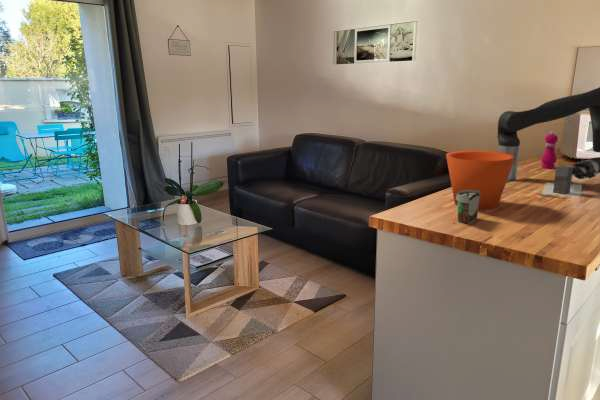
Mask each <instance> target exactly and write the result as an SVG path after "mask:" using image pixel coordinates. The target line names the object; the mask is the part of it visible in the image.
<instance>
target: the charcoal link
mask: <svg viewBox="0 0 600 400" xmlns="http://www.w3.org/2000/svg"><path fill="white" fill-rule="evenodd" d="M572 172H573V167H572V166H568V165H559V166H556V167H555V174H554V180H553V181H554V182H553V183H554V189H553V193H558V194H564V195H565V194H568V193H570V187H571V184H572V179H573V176H572Z"/></svg>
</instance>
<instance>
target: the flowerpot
mask: <svg viewBox="0 0 600 400" xmlns="http://www.w3.org/2000/svg"><path fill="white" fill-rule="evenodd" d="M445 156H446V157H445V158H446V161H447V168H448V173H449V178H450V183H451V184H450V185H451V190H452V195H453V201H454V204H455V205H456V206H457V205H458V201H457V200H456V196H457V194H458V192H460V191H465V190H477V191H480V197H479V206H478V209H488V210H494V209H496V208H497V207H499V204H500V200H501V198H502V195H503V193H504V190H505V187H506V185H507V183H508V182H507V179H508V176H509V173H510V170H511V168H512V165H513V162H514V159H515V156H514V155H512V154H508V153H503V152H498V151H494V150H476V149H475V150H472V149H471V150H457V151H456V150H454V151H450V152H446V154H445ZM493 208H494V209H493Z"/></svg>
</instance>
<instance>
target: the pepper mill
mask: <svg viewBox="0 0 600 400" xmlns="http://www.w3.org/2000/svg"><path fill="white" fill-rule="evenodd" d="M549 133H550V134H547V135H546V136H545V139H544V141H545V151H544V153H543V155H542V157H541V160H540V161H541V163H542V164H541V168H542V169H545V170H546V169H548V170H549V169H550V170H554V169H556V167H555V166H556V165H555V163H556V162H557V155H556V152H555V148H556V146H557V142H558V140H559V138H558V136H557V135H556V134H555V132H554V131H550V132H549Z"/></svg>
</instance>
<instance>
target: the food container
mask: <svg viewBox="0 0 600 400" xmlns="http://www.w3.org/2000/svg"><path fill="white" fill-rule="evenodd" d="M479 197H480V191H477V190H465V191H460V192H458V194H457V196H456V200H457V201H458V206H457V222H459V223H461V224H462V223H463V225H466V224H467V226H469V225H470V224H472V223H473V222H474V221H476V220H477V219H478V214H479V213H478V212H479V210H478V206H479ZM476 218H477V219H476ZM473 220H474V221H473ZM472 221H473V222H472ZM468 224H469V225H468Z"/></svg>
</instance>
